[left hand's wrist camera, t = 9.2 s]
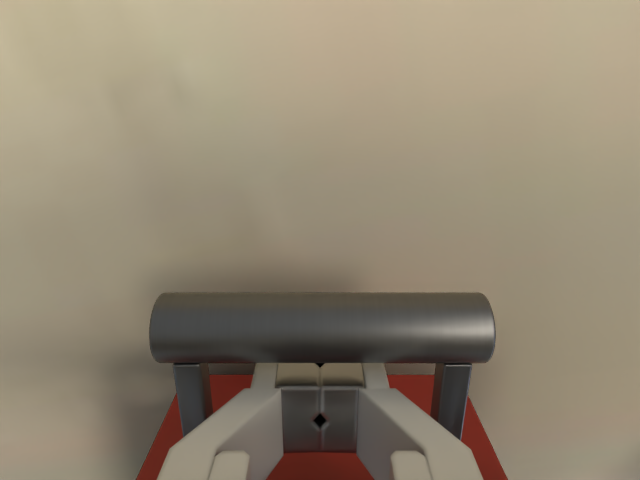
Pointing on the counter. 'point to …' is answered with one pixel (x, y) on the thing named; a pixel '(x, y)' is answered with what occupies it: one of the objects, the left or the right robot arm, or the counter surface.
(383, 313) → the drawer
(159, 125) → the counter surface
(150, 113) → the counter surface
